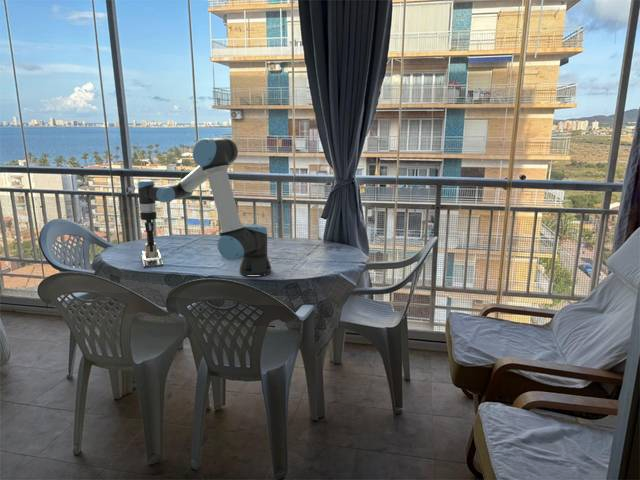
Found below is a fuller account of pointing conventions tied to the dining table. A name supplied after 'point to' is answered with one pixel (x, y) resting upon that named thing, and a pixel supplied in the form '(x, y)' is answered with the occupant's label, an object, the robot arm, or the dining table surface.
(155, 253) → the module
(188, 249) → the dining table surface
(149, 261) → the white tray
